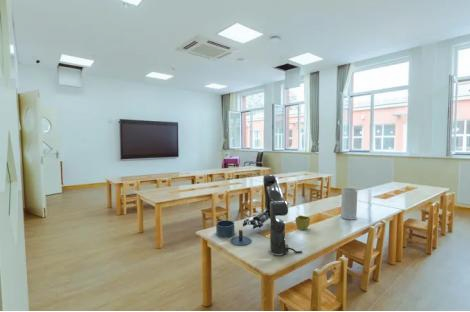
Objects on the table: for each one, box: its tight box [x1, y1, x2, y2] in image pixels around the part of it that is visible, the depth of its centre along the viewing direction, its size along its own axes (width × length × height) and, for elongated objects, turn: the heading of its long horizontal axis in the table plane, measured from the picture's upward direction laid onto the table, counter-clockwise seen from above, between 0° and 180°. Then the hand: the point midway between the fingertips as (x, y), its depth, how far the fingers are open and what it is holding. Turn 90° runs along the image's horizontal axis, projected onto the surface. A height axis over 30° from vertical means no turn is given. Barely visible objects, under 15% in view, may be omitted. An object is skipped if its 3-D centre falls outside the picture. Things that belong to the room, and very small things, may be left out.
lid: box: [230, 229, 252, 247], centre depth 174 cm, size 14×14×8 cm
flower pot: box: [295, 215, 311, 231], centre depth 197 cm, size 9×9×9 cm
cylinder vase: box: [340, 187, 358, 221], centre depth 221 cm, size 12×12×25 cm
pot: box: [215, 219, 236, 239], centre depth 187 cm, size 13×13×8 cm
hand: (248, 226), depth 182 cm, fingers open, 8 cm apart
